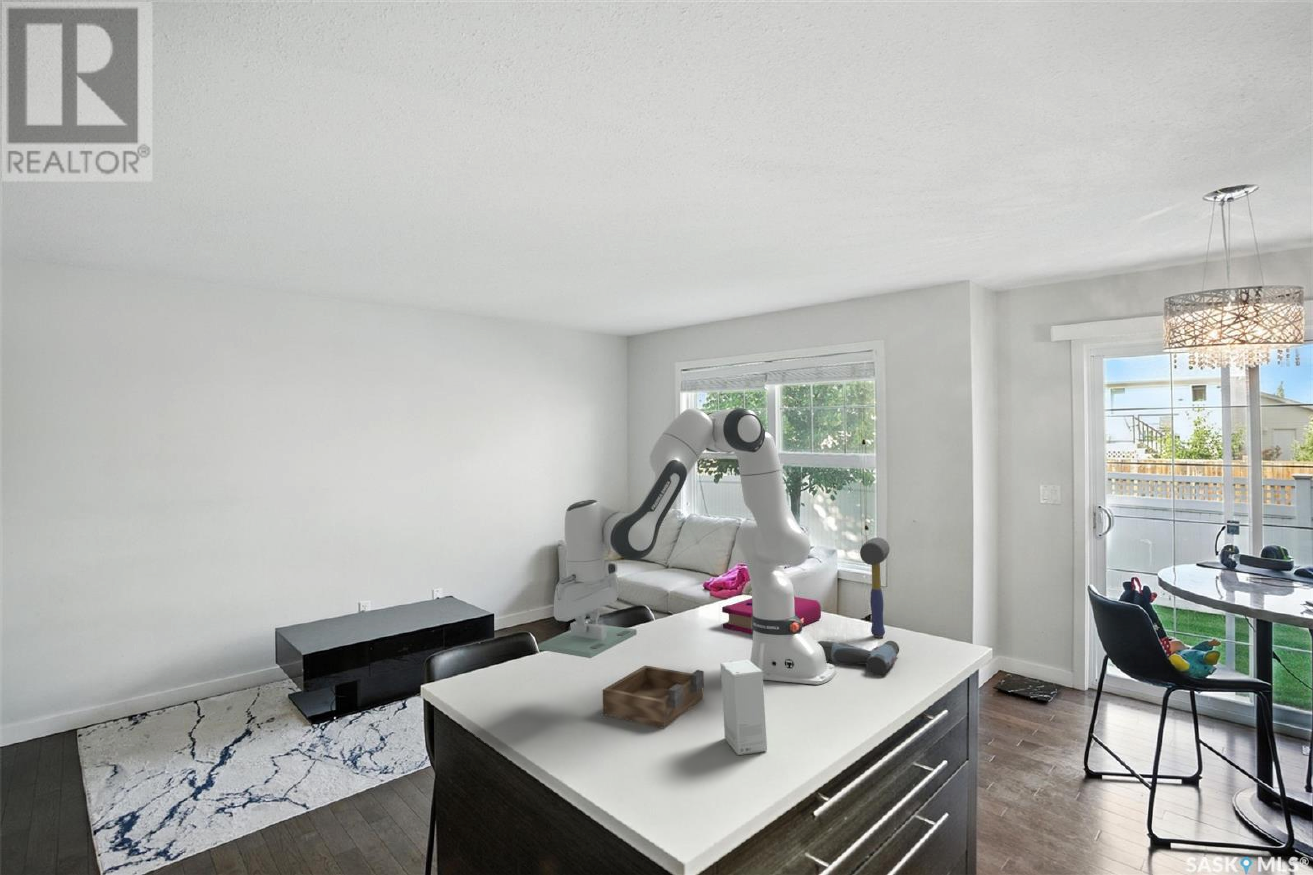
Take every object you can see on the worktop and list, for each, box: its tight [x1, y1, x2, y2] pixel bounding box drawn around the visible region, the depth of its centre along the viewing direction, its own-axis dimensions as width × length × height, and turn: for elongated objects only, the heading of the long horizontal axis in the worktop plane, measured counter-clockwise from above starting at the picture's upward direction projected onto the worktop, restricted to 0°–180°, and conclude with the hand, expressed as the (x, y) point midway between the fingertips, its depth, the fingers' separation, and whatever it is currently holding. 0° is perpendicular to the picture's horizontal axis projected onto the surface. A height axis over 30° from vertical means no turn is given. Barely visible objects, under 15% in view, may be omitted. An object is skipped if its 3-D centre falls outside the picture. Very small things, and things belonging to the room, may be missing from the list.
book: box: [721, 596, 822, 635], centre depth 213 cm, size 21×28×8 cm
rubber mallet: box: [859, 537, 890, 639], centre depth 195 cm, size 12×8×30 cm, turn 151°
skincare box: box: [720, 659, 768, 756], centre depth 127 cm, size 8×7×16 cm
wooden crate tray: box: [602, 664, 705, 729], centre depth 147 cm, size 18×18×8 cm
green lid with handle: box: [537, 620, 638, 659], centre depth 148 cm, size 15×18×4 cm
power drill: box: [817, 640, 900, 676], centre depth 175 cm, size 5×19×20 cm
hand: (588, 630), depth 148 cm, fingers closed on green lid with handle, 2 cm apart
